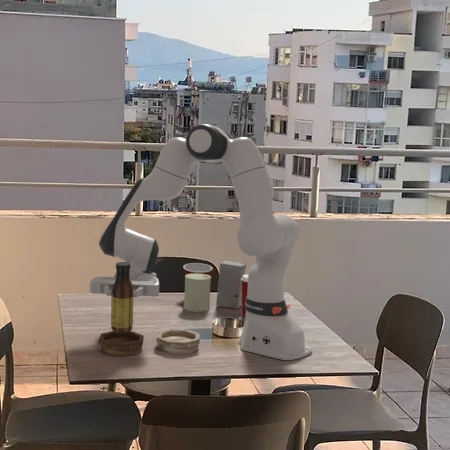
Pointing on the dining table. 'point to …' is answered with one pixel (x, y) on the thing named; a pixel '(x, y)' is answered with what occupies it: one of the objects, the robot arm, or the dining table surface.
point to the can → (197, 292)
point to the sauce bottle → (122, 300)
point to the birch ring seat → (178, 341)
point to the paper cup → (244, 292)
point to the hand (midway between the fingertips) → (122, 293)
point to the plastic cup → (197, 268)
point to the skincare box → (230, 284)
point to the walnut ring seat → (121, 343)
